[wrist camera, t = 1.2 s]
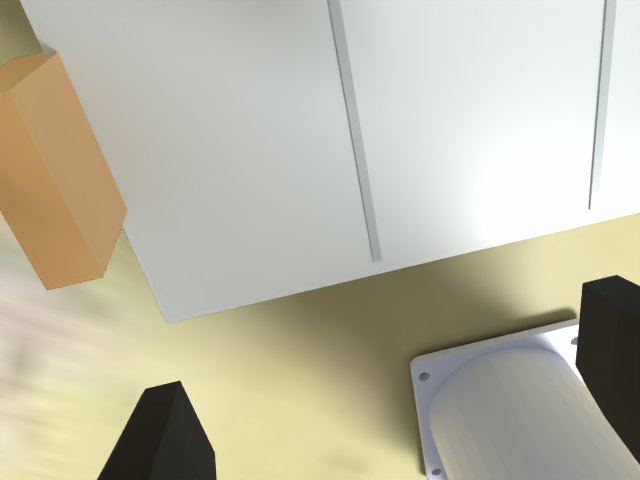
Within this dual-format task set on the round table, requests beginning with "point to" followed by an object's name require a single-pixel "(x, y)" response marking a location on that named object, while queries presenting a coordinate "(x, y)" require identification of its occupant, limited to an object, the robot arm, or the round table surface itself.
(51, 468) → the round table surface
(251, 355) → the round table surface
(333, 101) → the lid
